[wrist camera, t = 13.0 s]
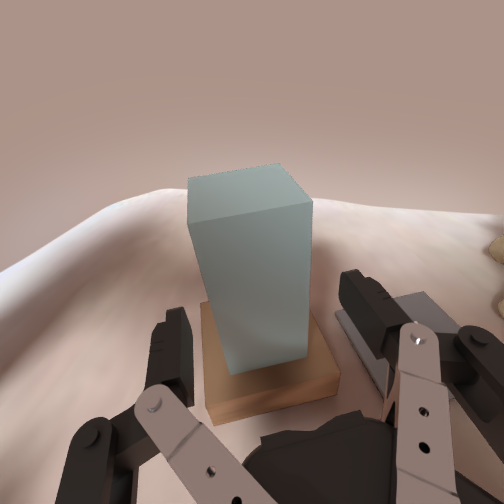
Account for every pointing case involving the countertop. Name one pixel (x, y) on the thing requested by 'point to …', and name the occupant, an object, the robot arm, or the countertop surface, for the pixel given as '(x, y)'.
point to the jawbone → (500, 251)
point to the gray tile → (419, 312)
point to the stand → (264, 377)
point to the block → (254, 262)
